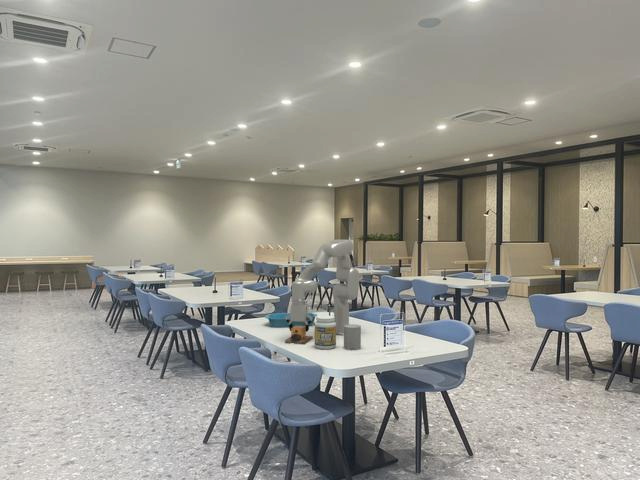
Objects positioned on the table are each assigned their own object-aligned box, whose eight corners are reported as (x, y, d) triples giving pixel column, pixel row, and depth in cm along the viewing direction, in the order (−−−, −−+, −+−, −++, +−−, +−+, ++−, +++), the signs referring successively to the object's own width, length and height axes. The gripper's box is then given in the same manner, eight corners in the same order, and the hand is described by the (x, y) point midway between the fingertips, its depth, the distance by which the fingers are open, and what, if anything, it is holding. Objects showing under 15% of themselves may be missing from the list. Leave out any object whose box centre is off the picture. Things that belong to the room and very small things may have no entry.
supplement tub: (316, 350, 259) (316, 319, 259) (312, 345, 271) (312, 315, 271) (338, 349, 261) (338, 318, 261) (333, 344, 273) (333, 314, 273)
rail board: (312, 338, 288) (312, 331, 288) (304, 344, 273) (304, 336, 272) (293, 337, 291) (293, 330, 291) (285, 343, 276) (285, 335, 276)
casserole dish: (266, 329, 319) (266, 318, 319) (263, 323, 341) (263, 313, 341) (320, 327, 326) (320, 316, 326) (314, 321, 348) (314, 311, 348)
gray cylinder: (355, 350, 257) (355, 328, 257) (340, 348, 262) (340, 326, 262) (363, 347, 266) (363, 325, 265) (348, 345, 271) (348, 323, 270)
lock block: (305, 337, 283) (305, 326, 283) (301, 340, 275) (301, 328, 275) (295, 337, 285) (295, 325, 285) (291, 340, 277) (291, 328, 277)
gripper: (314, 301, 281) (315, 330, 282) (286, 300, 286) (287, 329, 287) (310, 303, 274) (311, 333, 275) (282, 302, 279) (283, 331, 279)
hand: (299, 331), depth 281 cm, fingers open, 9 cm apart
